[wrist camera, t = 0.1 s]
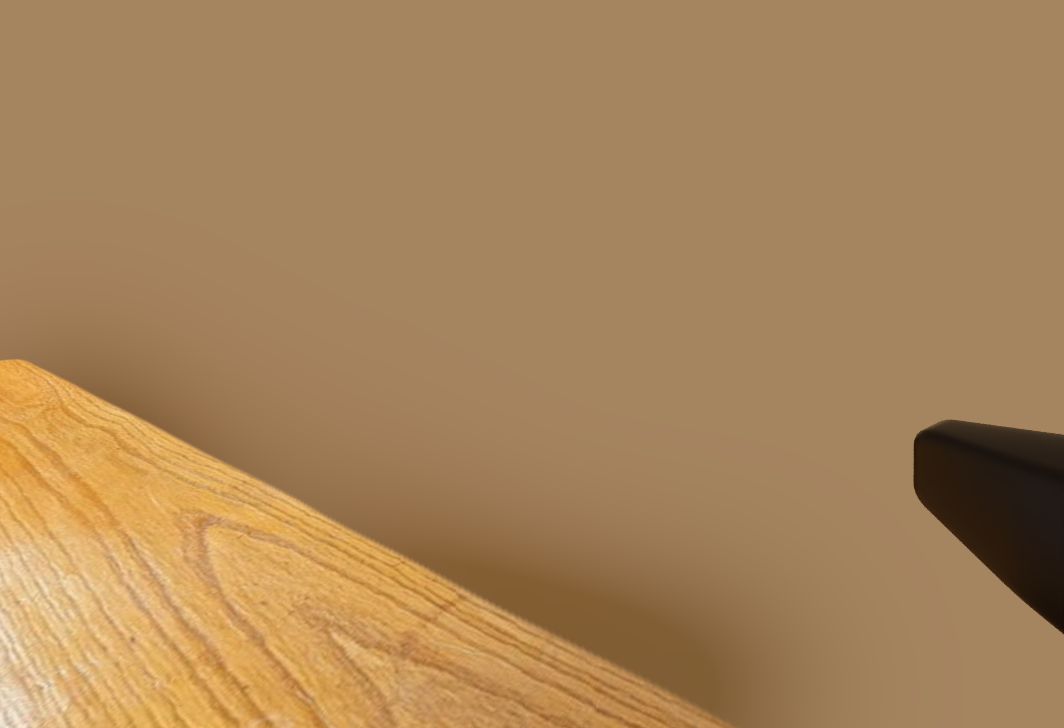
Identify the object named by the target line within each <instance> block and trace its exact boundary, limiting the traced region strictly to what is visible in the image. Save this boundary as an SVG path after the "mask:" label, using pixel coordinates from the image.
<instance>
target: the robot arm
mask: <svg viewBox="0 0 1064 728" xmlns="http://www.w3.org/2000/svg"><path fill="white" fill-rule="evenodd" d="M914 489H915V492H916V494H917V496H918V498H919V500H920V501H921V503H922V504H923V505H924V506H925V507H926V508H927V509H928V510H929V511H930V512H931V513H932V514H933V515H934V516H935V517H936V518H937V519H938V520H939V521H940V522H941V523H942V524H943V525H944V526H945V527H946V528H947V529H949V530H950V531H951V532H952V533H953V534H954V535H955V536H956V537H957V538H958V539H959V540H960V541H961V542H962V543H963V544H964V545H965V546H966V547H967V548H968V549H969V550H970V551H971V552H972V553H973V554H975V556H976V557H977V558H978V559H979V560H981V562H983V563H984V564H985V565H986V566H987V567H988V568H989V569H990V570H991V571H992V572H993V573H994V574H995V575H996V576H997V577H998V578H999V579H1000V580H1001V581H1002V582H1003V583H1004V584H1005V585H1006V586H1007V587H1009V588H1010V589H1011V590H1012V591H1013V592H1014V593H1015V594H1016V595H1017V596H1018V597H1019V598H1021V599H1022V600H1023V601H1024V602H1025V603H1026V604H1028V605H1029V606H1030V607H1031V608H1032V609H1033V610H1035V611H1036V612H1037V613H1038V614H1040V615H1041V616H1042V617H1043V618H1044V619H1046V620H1047V621H1048V622H1049V623H1051V624H1052V625H1053V626H1054V627H1055V628H1057V629H1058V630H1059V631H1060V632H1062V633H1063V634H1064V435H1061V434H1054V433H1047V432H1039V431H1032V430H1024V429H1017V428H1010V427H1002V426H994V425H987V424H980V423H973V422H965V421H958V420H944V421H940V422H938V423H936V424H934V425H932V426H930V427H928V428H926V429H924V430H922V431H920V432H919V433H918V434H917V436H916V438H915V440H914Z"/></svg>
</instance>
